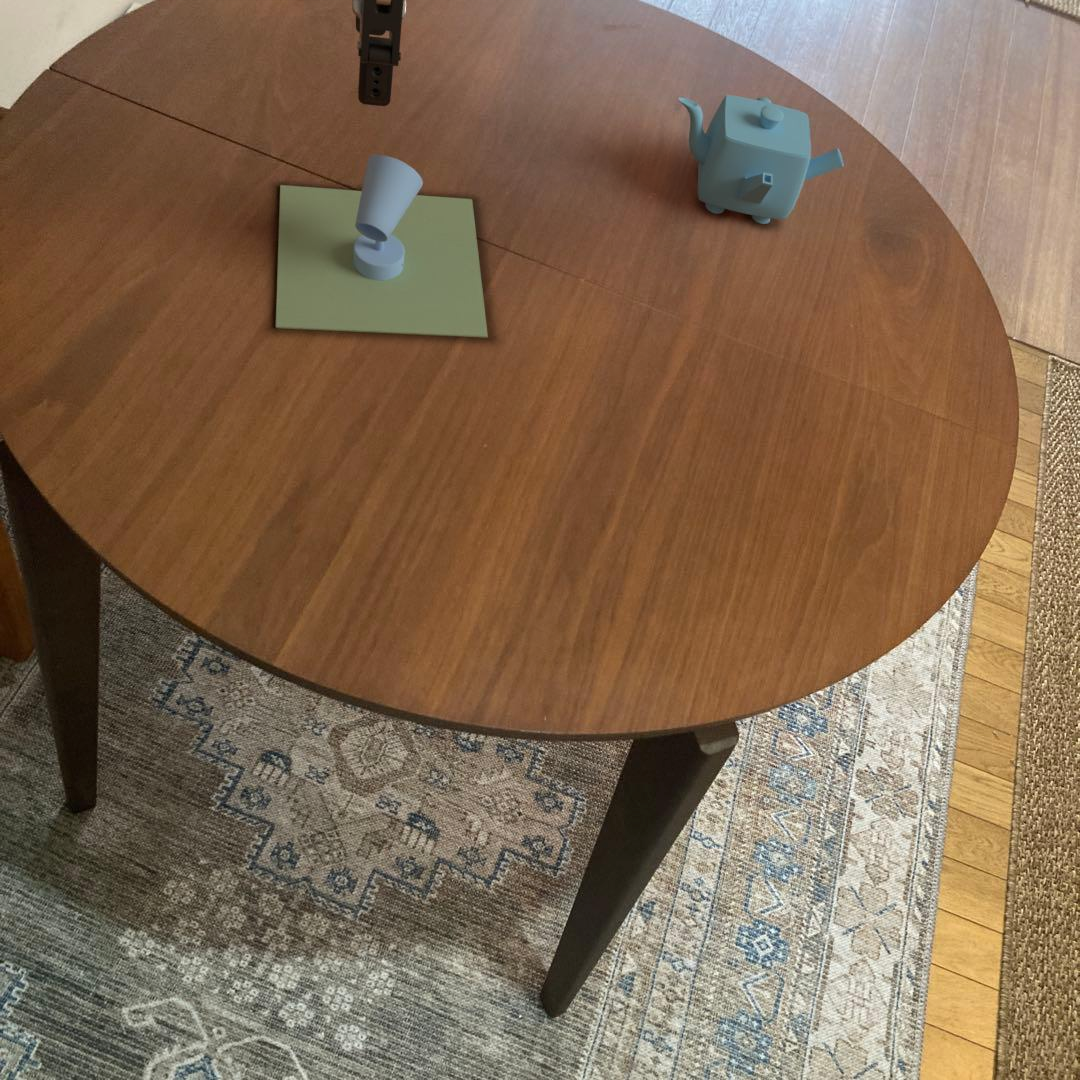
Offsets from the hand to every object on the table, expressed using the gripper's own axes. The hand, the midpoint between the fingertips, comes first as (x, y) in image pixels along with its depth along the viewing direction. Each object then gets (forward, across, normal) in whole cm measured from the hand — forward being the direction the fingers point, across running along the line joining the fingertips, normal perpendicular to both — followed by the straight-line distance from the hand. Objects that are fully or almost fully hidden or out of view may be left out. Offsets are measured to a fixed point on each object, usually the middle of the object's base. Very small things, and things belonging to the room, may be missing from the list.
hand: (372, 66), depth 75 cm
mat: (+21, -3, +2) cm, 21 cm away
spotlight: (+21, -3, +2) cm, 21 cm away
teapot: (+20, -15, +39) cm, 46 cm away
